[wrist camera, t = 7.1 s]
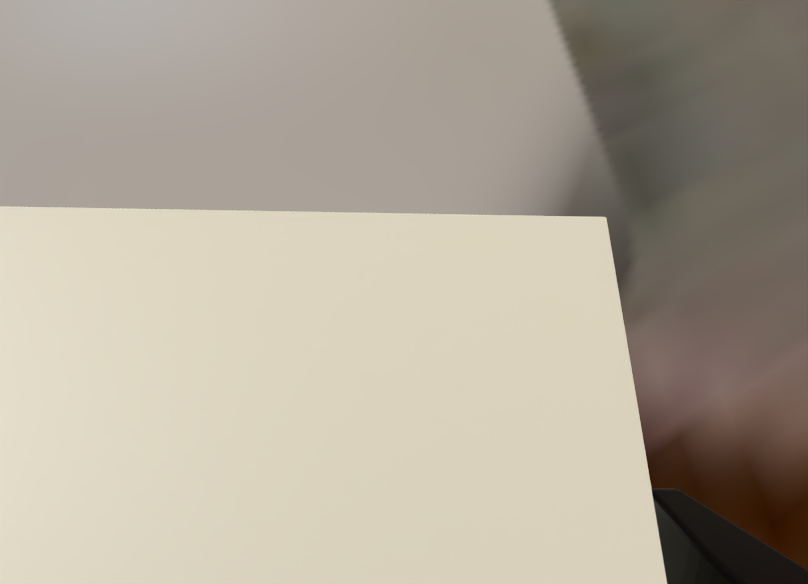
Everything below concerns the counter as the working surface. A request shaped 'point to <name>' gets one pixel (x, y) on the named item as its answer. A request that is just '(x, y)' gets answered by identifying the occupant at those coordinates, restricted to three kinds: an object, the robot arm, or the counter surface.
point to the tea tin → (317, 400)
